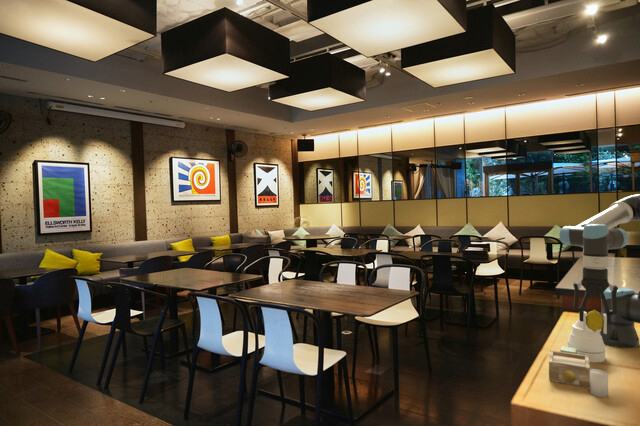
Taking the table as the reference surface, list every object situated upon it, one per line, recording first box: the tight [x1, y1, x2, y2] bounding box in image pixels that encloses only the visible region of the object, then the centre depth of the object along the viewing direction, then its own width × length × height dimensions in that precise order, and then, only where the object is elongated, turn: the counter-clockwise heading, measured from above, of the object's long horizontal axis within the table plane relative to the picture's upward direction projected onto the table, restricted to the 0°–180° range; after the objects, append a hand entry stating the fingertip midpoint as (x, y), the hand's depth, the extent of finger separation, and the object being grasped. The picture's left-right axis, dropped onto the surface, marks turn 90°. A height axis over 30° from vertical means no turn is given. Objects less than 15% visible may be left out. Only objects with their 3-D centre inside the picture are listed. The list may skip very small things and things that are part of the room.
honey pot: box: [566, 311, 606, 363], centre depth 169 cm, size 13×13×18 cm
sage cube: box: [559, 345, 577, 354], centre depth 164 cm, size 5×5×5 cm
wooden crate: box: [548, 350, 591, 389], centre depth 150 cm, size 12×12×7 cm
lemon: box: [586, 309, 604, 332], centre depth 153 cm, size 6×6×8 cm
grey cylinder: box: [589, 368, 609, 398], centre depth 138 cm, size 5×5×7 cm
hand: (594, 331), depth 153 cm, fingers closed on lemon, 5 cm apart
